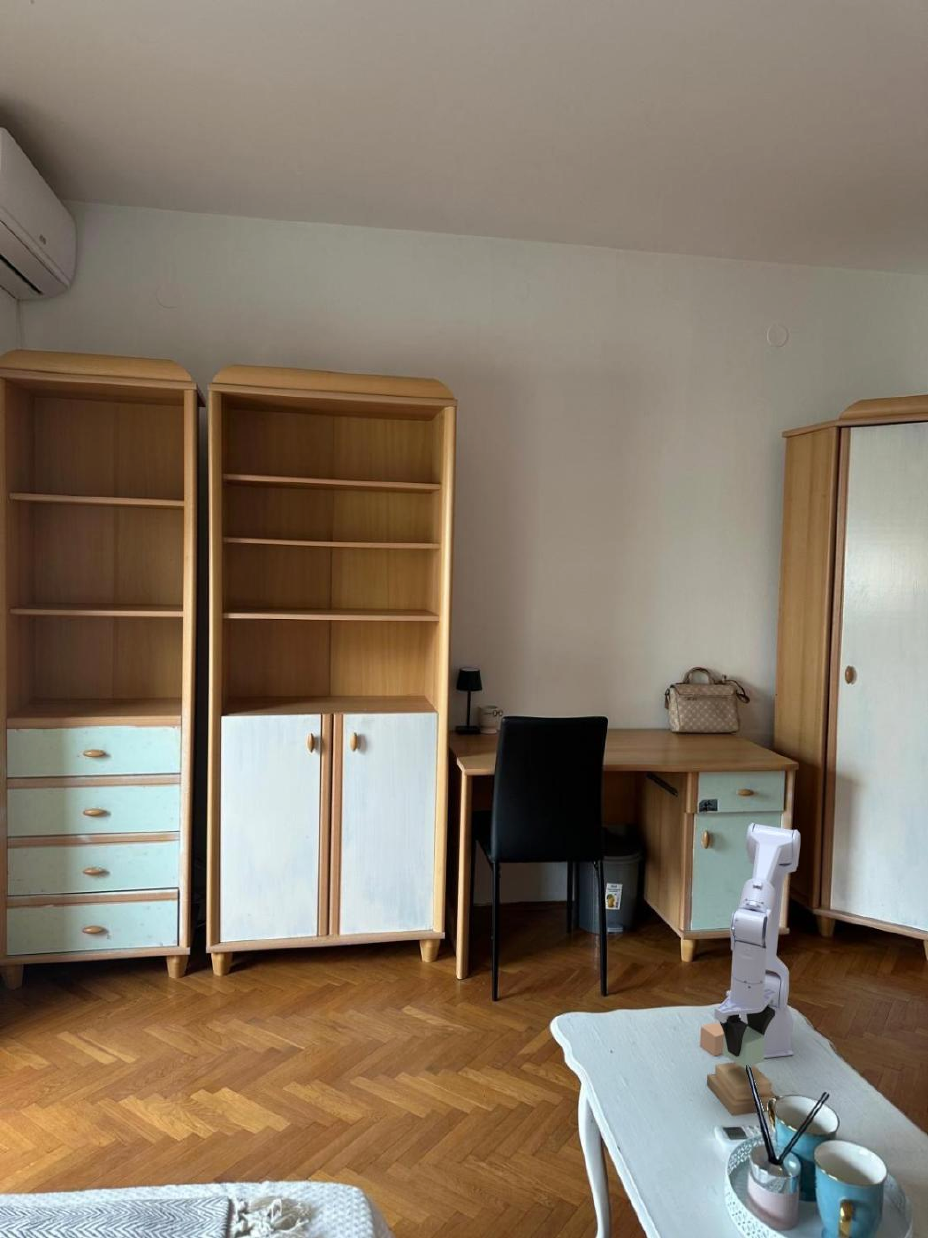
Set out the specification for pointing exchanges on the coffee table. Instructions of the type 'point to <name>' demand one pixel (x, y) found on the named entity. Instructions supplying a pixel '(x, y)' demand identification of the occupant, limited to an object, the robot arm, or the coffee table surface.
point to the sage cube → (748, 1049)
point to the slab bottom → (730, 1103)
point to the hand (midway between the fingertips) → (744, 1049)
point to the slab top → (741, 1081)
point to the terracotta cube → (712, 1038)
